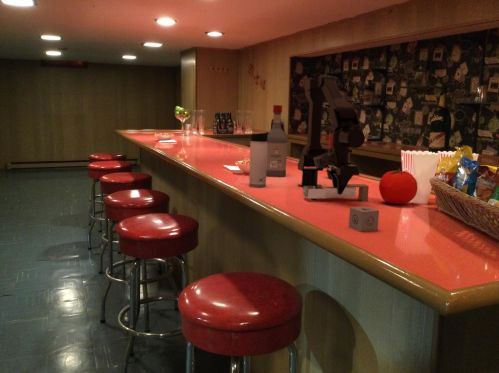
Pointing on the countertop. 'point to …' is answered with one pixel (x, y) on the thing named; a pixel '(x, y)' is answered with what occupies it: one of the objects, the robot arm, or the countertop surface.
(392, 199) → the tomato
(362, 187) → the block
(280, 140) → the liquor
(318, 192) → the square scoop
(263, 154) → the travel mug
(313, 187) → the dark round cylinder
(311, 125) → the robot arm
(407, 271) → the countertop surface
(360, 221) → the dice cube
